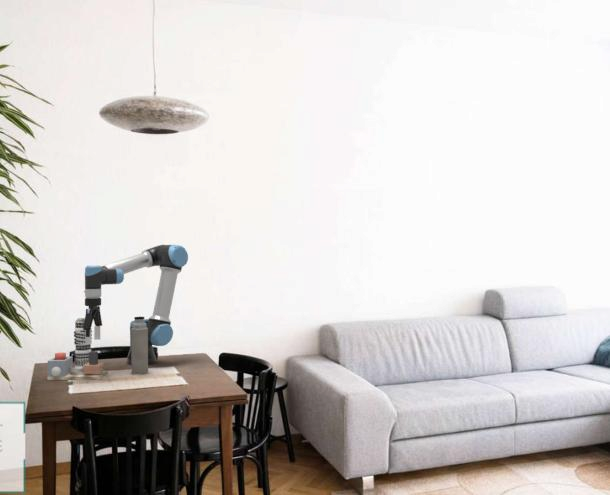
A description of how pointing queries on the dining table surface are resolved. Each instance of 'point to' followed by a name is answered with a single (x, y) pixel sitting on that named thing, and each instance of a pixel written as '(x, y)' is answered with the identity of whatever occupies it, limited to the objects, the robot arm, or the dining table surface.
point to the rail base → (80, 375)
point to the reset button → (60, 356)
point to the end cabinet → (59, 367)
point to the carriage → (93, 364)
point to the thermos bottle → (139, 346)
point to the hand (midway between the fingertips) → (92, 341)
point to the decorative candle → (81, 344)
